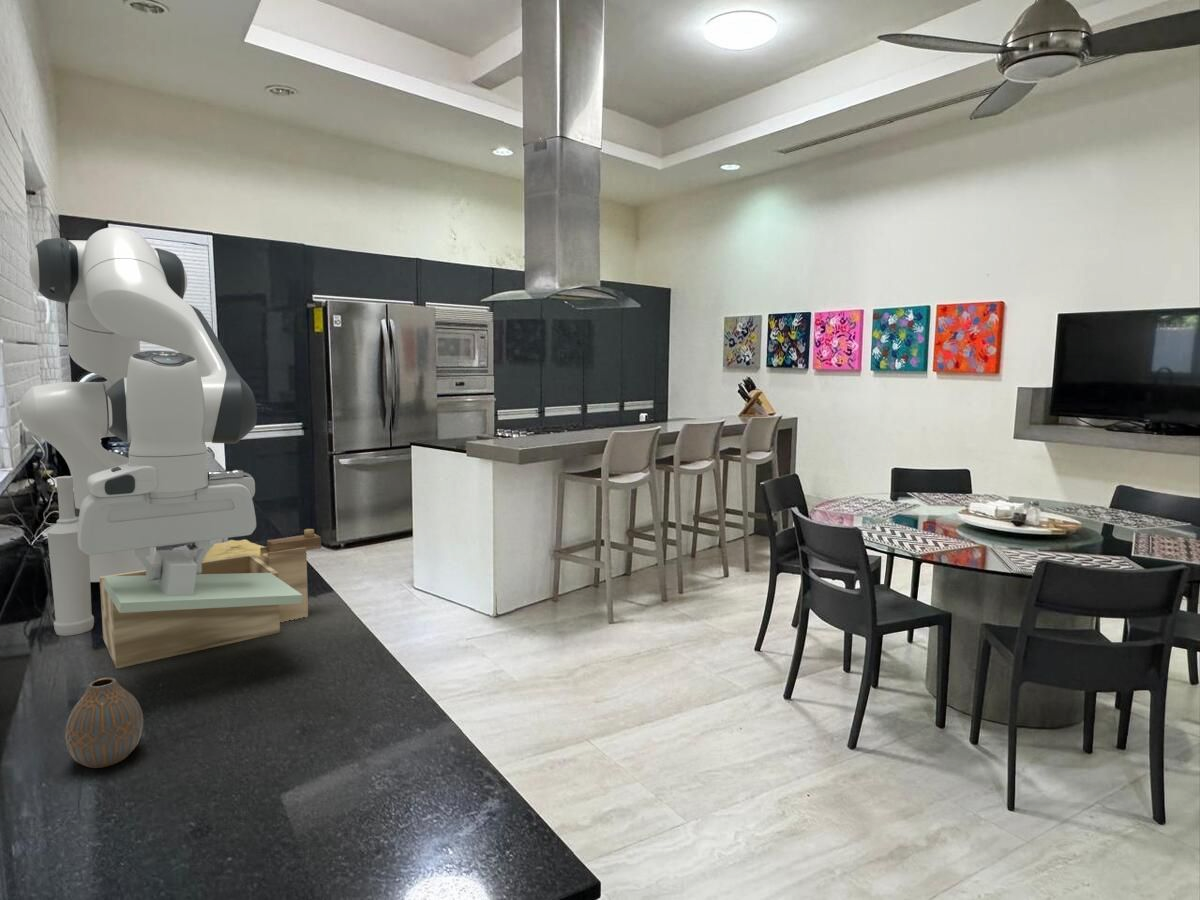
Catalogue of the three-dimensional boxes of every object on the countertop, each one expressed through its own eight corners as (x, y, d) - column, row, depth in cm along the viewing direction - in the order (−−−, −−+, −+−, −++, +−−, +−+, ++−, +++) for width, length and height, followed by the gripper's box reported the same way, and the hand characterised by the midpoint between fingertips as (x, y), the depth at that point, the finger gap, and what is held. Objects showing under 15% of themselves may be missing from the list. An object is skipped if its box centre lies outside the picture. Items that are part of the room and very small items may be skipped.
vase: (159, 748, 78) (155, 674, 77) (97, 782, 71) (92, 701, 70) (115, 736, 80) (111, 664, 79) (51, 768, 74) (46, 690, 73)
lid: (103, 585, 94) (108, 547, 94) (269, 580, 108) (273, 547, 108) (119, 612, 83) (125, 569, 83) (301, 603, 97) (306, 566, 97)
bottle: (72, 637, 108) (62, 480, 105) (45, 634, 109) (34, 478, 106) (102, 626, 113) (93, 475, 110) (76, 623, 114) (66, 473, 111)
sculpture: (206, 611, 121) (203, 551, 120) (191, 594, 130) (188, 538, 129) (275, 598, 129) (273, 542, 127) (256, 582, 138) (255, 529, 136)
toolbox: (103, 638, 108) (98, 563, 107) (289, 602, 127) (287, 537, 125) (116, 668, 98) (111, 585, 96) (317, 624, 116) (315, 553, 115)
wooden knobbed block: (267, 551, 118) (266, 533, 117) (315, 544, 123) (314, 527, 123) (272, 555, 116) (272, 536, 115) (321, 548, 121) (320, 530, 121)
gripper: (247, 466, 101) (251, 558, 102) (72, 478, 87) (78, 584, 89) (260, 471, 96) (264, 568, 98) (77, 484, 82) (84, 597, 84)
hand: (174, 576), depth 93 cm, fingers closed on lid, 3 cm apart
